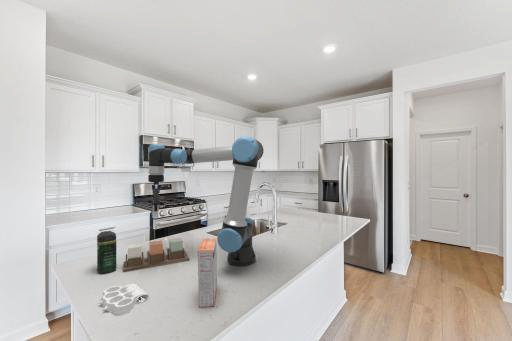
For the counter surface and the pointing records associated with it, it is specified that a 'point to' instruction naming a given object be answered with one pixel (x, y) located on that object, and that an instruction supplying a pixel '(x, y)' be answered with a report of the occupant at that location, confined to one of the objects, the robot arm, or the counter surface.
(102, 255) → the coffee jar
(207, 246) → the cracker box
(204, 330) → the counter surface
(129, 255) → the cream key
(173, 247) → the sage key
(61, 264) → the counter surface
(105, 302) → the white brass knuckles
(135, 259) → the board
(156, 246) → the terracotta key
